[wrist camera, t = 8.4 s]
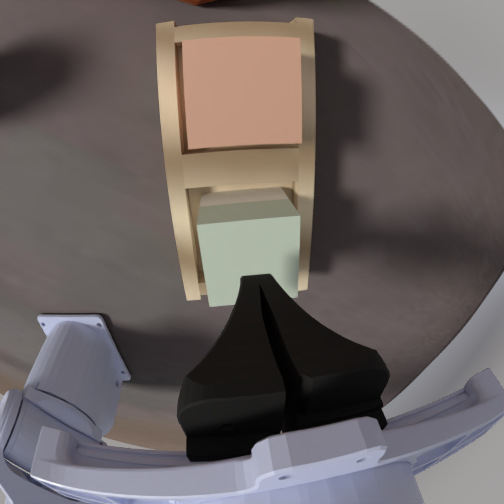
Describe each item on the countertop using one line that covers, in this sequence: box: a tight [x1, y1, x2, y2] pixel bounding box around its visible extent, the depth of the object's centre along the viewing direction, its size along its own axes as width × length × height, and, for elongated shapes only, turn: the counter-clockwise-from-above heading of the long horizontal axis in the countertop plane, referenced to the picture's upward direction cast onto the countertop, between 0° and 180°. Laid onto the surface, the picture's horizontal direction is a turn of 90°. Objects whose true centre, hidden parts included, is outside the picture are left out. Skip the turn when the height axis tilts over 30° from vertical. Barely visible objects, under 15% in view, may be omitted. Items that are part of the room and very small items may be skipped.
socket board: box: [156, 18, 316, 300], centre depth 17 cm, size 18×9×3 cm, turn 2°
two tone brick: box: [197, 186, 300, 307], centre depth 17 cm, size 5×5×5 cm
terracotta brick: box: [182, 36, 302, 149], centre depth 13 cm, size 5×5×5 cm
